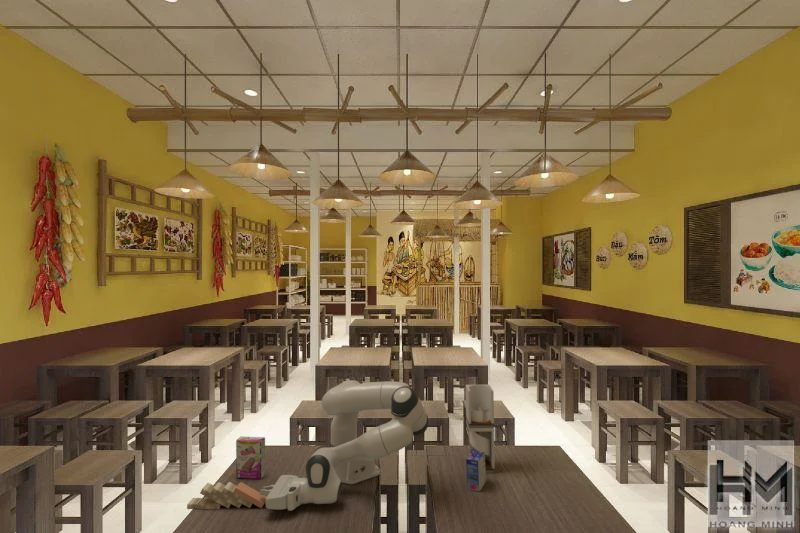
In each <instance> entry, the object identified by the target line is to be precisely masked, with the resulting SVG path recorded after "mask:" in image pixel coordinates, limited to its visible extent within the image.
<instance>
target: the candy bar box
mask: <svg viewBox="0 0 800 533" xmlns="http://www.w3.org/2000/svg"><path fill="white" fill-rule="evenodd" d="M235 444H236V445H235V448H236V449H235V454H236V455H235V456H236V457H235V459H236V461H235V463H236V464H235V466H236V471H235V472H236V477H235V478H236V479H247V480H249V479H251V480H262V479H263V478H264V477H265V476H266V437H265V436H264V437H263V436H241V435H240V436H239V438H237V439H236V442H235Z"/></svg>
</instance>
